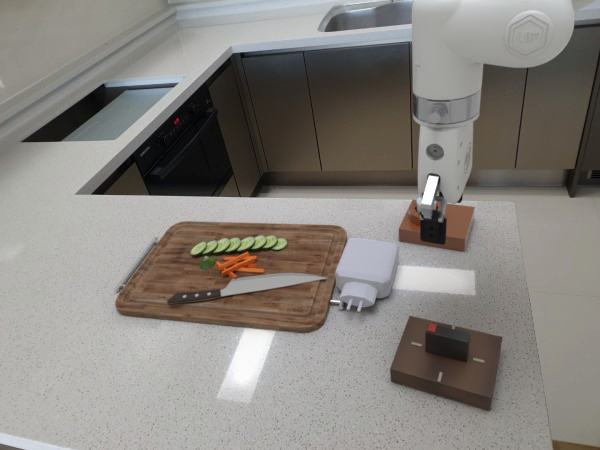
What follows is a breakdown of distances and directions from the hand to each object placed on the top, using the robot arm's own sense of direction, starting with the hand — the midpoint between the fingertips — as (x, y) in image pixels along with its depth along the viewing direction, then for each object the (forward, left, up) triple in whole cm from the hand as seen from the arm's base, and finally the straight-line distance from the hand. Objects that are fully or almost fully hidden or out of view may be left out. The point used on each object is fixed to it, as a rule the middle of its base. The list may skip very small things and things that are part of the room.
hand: (442, 220), depth 64 cm
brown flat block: (-3, +11, -17) cm, 21 cm away
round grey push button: (+7, -19, -13) cm, 24 cm away
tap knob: (-3, +11, -14) cm, 18 cm away
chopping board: (+38, +2, -17) cm, 42 cm away
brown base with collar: (+5, -19, -17) cm, 26 cm away
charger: (+13, 0, -17) cm, 21 cm away
